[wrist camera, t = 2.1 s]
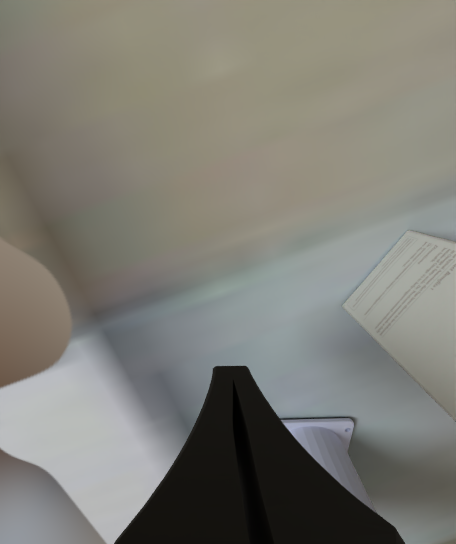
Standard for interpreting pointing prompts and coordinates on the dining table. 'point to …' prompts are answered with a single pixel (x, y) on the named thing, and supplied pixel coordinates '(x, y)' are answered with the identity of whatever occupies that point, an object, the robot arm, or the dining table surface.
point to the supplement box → (414, 312)
